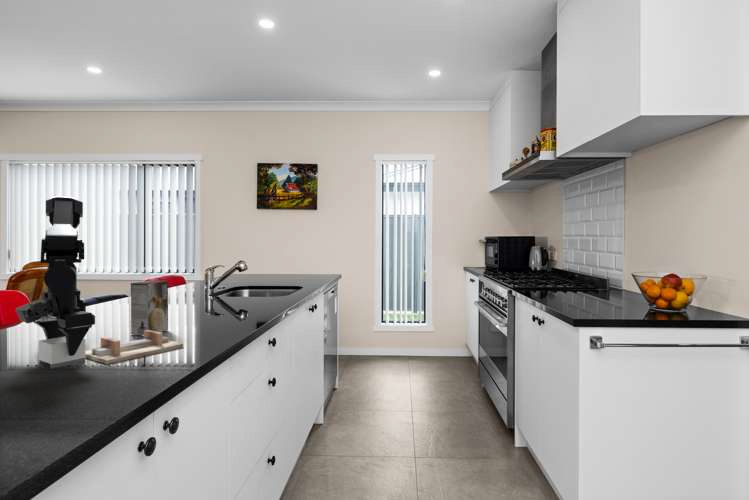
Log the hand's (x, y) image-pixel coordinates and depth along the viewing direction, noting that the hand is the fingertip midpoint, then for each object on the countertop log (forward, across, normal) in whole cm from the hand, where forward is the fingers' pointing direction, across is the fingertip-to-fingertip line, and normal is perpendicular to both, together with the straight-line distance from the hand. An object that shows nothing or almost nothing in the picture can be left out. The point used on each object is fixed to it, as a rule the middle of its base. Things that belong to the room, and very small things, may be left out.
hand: (62, 352), depth 104 cm
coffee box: (+3, -14, +30) cm, 33 cm away
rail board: (+2, +3, +15) cm, 15 cm away
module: (+2, 0, 0) cm, 2 cm away
